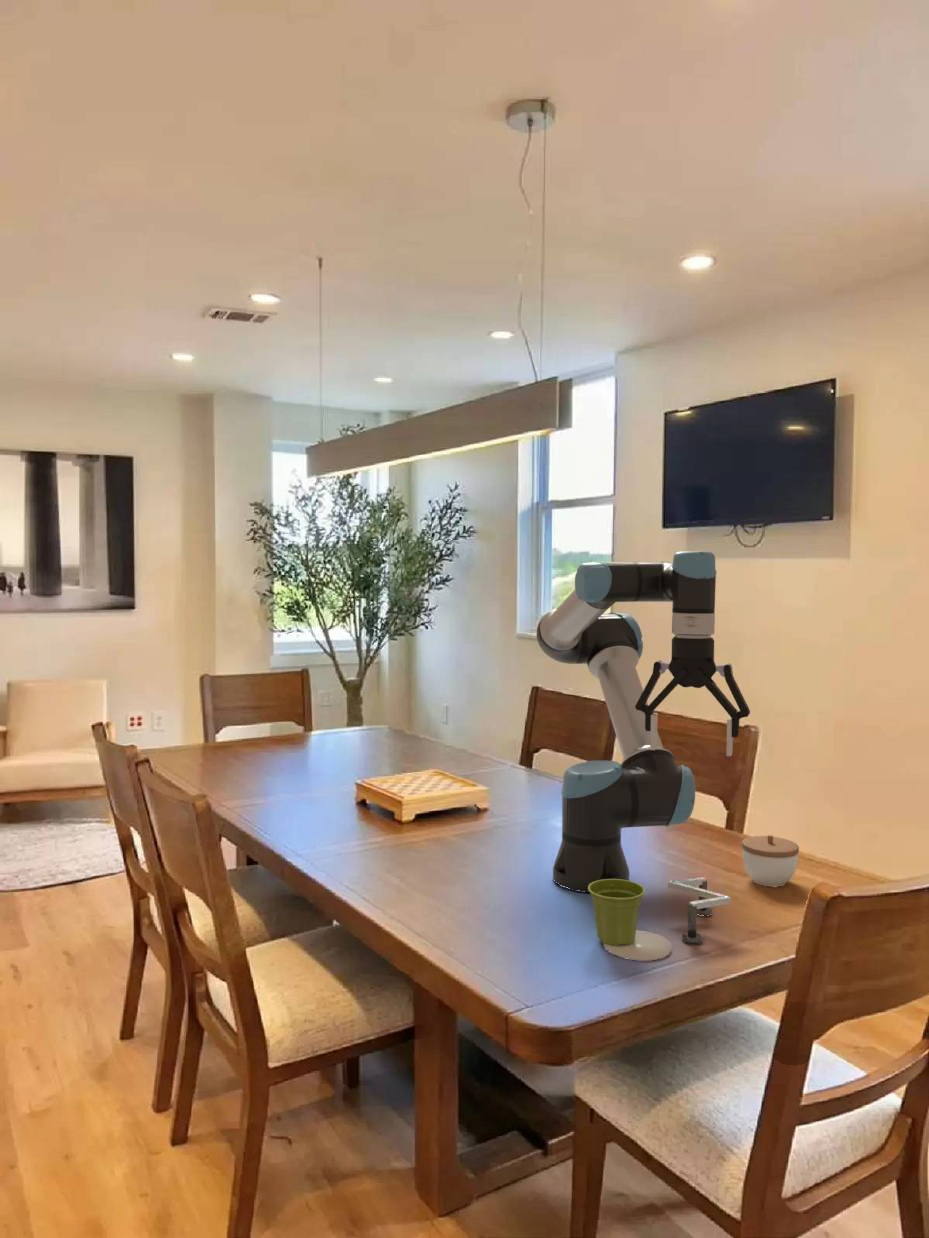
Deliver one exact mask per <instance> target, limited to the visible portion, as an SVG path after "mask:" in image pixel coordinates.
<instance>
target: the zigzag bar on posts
mask: <svg viewBox="0 0 929 1238" xmlns="http://www.w3.org/2000/svg"><path fill="white" fill-rule="evenodd" d="M667 882H668V883H667V885H668V887H667V888H669V889H674V890H677V891H679V892H684V893H687V894H691V895H695V896H698V900H693V901H689V902H688V905H687V906H688V907H687V908H688V910H687V932H684V933H683V934H682V936H681V937H682V938H681V940H683V941H684V942H686V943H685V944H687V943H689V944H688V945H691V944H698V945H700V944H699V943H701V942H702V943H703V936H702V935H701V934H700V933H698V931H697V929H698V928H697V927H698V925H697V923H698V921H697V920H698V916H697V914H699V915H704V916H707V915H710V914H712V915H713V909H712V908H711V907H717V906H724V905H728V904H731V902H732V900H731V899H732V898H731V896H728V895H726V894H722V893H718V892H714V891H712V890H711V891H710V890H708V880H707V878H706V877H703V876H700V877H692V878H691V877H690V878H683V879H682V878H681V879H674V880H673V879H672V880H671V879H670V880H668V881H667ZM697 886H698V887H697ZM683 941H682V942H683ZM684 942H683V943H684ZM702 943H701V944H702Z"/></svg>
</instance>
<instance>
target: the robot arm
mask: <svg viewBox="0 0 929 1238" xmlns="http://www.w3.org/2000/svg"><path fill="white" fill-rule="evenodd" d="M574 576H575V577H574V590H573V591H572V592H571V593H570V594H569V595H568V596H567V597H566V598H565V599H564V600H563V602H562V603H560V605H559V606H558V607H557V608H553V609H550V610H549V611H547V612H546V613H545V614H544V615H543V617H541V619H540V620H539V623H538V624H537V627H536V640H537V643H538V646H539V648H540V649H541V650H542V652H543V653H544V654H545V655H547V656H548V657H550V658H549V659H552V660H554V661H556V662H559V663H563V664H568V665H573V664H574V665H575V664H576V665H580V664H581V665H587V668H588V670H589V673H590V674H591V676H592V677H594V678H596V679H598V680H599V683H600V684H599V685H600V688H601V691H602V694H603V697H604V700H605V703H606V707H607V710H608V713H609V717H610V720H611V724H612V726H613V730H614V733H615V737H616V739H617V743H618V746H619V750H620V753H621V757H622V762H621V763H619V762H618V761H614V760H599V759H598V760H589V761H584V762H583V761H582V762H579V763H576V764H574V765H571V766H570V767H569V768H567V769H566V770H565V771H564V773H563V777H562V788H561V792H560V793H561V797H562V799H561V800H562V803H561V808H562V809H561V810H562V811H561V813H562V814H561V843H560V846H559V848H558V852H557V854H556V859H555V861H554V864H553V867H552V880H553V879H554V880H555V882H557V883H559V884H560V885H562V886H565V887H568V888H570V889H573V890H580V891H585V892H589V891H588V886H589V884H590V883H592V882H594V881H598V880H603V879H621V880H628V881H630V869H629V865H628V861H627V859H626V856H625V853H624V849H623V847H622V842H621V841H622V829H624V828H642V827H645V828H646V827H662V826H665V827H669V826H673V825H680V824H681V825H682V824H685V823H686V822H687V821H688V820H689V819H690V817H691V815H692V814H693V812H694V807H695V800H696V782H695V777H694V774H693V771H692V770H691V768H689V767H688V766H687V765H684V764H679V765H678V763H677V760H676V759H675V756H674V754H673V752H671V750H669V749H666V748H664V746H663V743H662V740H661V738H660V735H659V732H658V722H659V721H658V720H659V719H658V718H659V716H658V715H659V714H658V712H654V711H655V710H656V709H657V708H658V706H660V705H661V703H663V701H664V700H665V699H666V698H667V697H668V696H669V694H671V692H673V691H674V689H675V688H676V687H678V686H681V687H682V688H695V689H701V688H703V687H705V688H706V689H707V690H708V691H709V693H710V694H711V695H712V696H713V697H714V698H715V700H716V701H717V702H718V703H719V705H721V707H722V708H723V709H724V710H725V712H726V713H727V715H728V716H729V717H728V718H727V720H726V753H725V754H726V755H725V756H726V757H732V755H733V747H734V746H733V743H734V740H733V739H734V738H738V737H739V734H740V719H742V718H747V717H749V715H750V714H751V709H750V707H749V706H748V704H747V702H746V699H745V698H744V695H743V693H742V692H741V689H740V687H739V686H738V683H737V681H736V679H735V677H734V675H733V673H734V672H733V666H732V664H731V663H729V662H727V663H726V664H721V665H720V664H719V665H717V664H716V662H715V639H714V638H713V637H712V636H713V635H714V634H715V626H716V625H715V624H716V613H715V612H716V611H715V609H716V608H715V607H716V583H717V582H716V581H717V569H716V555H715V553H713V552H711V551H700V550H699V551H697V550H695V551H691V550H690V551H677V552H675V553H674V555H673V558H672V562H671V561H658V562H650V561H649V562H648V561H646V562H643V561H642V562H641V561H640V562H638V561H636V562H632V561H631V562H629V561H628V562H627V561H626V562H624V561H623V562H621V561H618V562H617V561H598V560H597V561H594V562H593V561H591V562H590V561H589V562H583V563H581V564H580V565H578V568H577V569H576V573H575V575H574ZM621 602H622V603H627V602H628V603H633V602H634V603H635V602H638V603H639V602H641V603H643V602H644V603H645V602H651V603H652V602H653V603H654V602H657V603H658V602H662V603H663V602H664V603H665V602H671V603H672V608H671V609H672V611H671V612H672V613H671V614H672V615H671V616H672V617H671V618H672V619H671V634H673V635H674V636H673V637H672V638H671V660H670V662H663V661H662V660H657V661H655V662H654V663H653V666H652V674H651V676H650V678H649V680H648V681H647V683H646V685H645V687H644V688H643V685H642V682H641V679H640V676H639V673H638V670H637V669H636V667H637V665H638V664H639V661H640V659H641V656H642V653H643V650H644V642H643V640H642V638H643V634H642V631H641V627H640V625H639V623H638V622H637V620H636V619H635V618H634V617H633V616H632V615H630V614H627V613H618V612H609V613H605V612H607V611H608V610H609V609H610V608H611V607H613V605H615V603H621ZM667 670H668V671H669V672H670V674H671V675H672V679H671V680H670V682H669V683H668V684H667V685H666V686H665V687H664V688H663V689H662V690H661V692H660V693H658V695H657V696H656V697H655V698H654V699H653V700H652V701H651V702H650V703H649V702H648V699H649V698H650V696H651V694H652V692H653V690H654V689H655V686H656V685H657V683H658V681H659V679H660V678H661V675H663V674H664V673H665V672H666V671H667ZM716 672H718V673H719V675H720V676H721V678H722V677H723V678H724V679H725V683H726V684H727V687H728V689H729V690H730V693H731V695H732V697H733V700H734V701H735V703H736V705H737V707H738V709H737V708H736V707H735V706H734V704H732V702H731V701H730V700H729V699H728V697H727V696H726V695H725V694H724V692H723V691H722V690H721V689H720V688H719V687H718V685H717V684H716V682H715V681H714V679H712V678H713V676H714V675H715V674H716ZM554 880H553V881H554ZM555 882H554V883H555ZM573 890H572V891H573ZM585 892H584V893H585Z"/></svg>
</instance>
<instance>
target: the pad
mask: <svg viewBox="0 0 929 1238" xmlns="http://www.w3.org/2000/svg"><path fill="white" fill-rule="evenodd" d="M602 943H603V942H602ZM603 944H604V945H603V948H604V947H605V948H606V949H607V950H608V951H610V952H611V953H612V954H614V955H617V956H619V957H621V958H620V959H622V958H628V959H630V960H629V961H632V960H637V961H636V962H653V961H652V960H656V961H658V960H657V959H660V960H662V959H661V958H663V959H665V958H667V957H668V956H670V954H671V953H672V943H671V942H670V941H669V940H668V939H667V938H666V937H664V936H662V935H660V934H657V933H655V932H650V931H647V930H646V931H645V930H640V929H639V930H638V929H636V934H635V940H634V942H632V943H631V944H628V945H625V944H619V945H609V944H606V943H603ZM605 948H604V949H605ZM670 952H671V953H670ZM612 954H611V955H612ZM614 955H613V956H614ZM666 956H667V957H666ZM619 957H618V958H619Z"/></svg>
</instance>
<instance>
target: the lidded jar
mask: <svg viewBox="0 0 929 1238" xmlns="http://www.w3.org/2000/svg"><path fill="white" fill-rule="evenodd" d="M741 847H742V853H741V855H742V862H743V866H744V869H745V871H746V874H748V877H750V878H751V879H752V880H754V881H755V882H756V883H759V884H761V885H764V886H763V887H766V886H782V887H784V886H785V885H786V884H785V883H788V882H789V881H790V880H791V879H792V878H793V876H795V873H796V871H797V868H798V863H799V862H798V861H799V851H800V850H799V849H800V847H799V845H798V844H797V843H795V842H794V841H792V840H789V839H787V838H783V837H777V836H774V835H772V834H768V835H757V836H756V835H755V836H749V837H746V838H744V839H742V841H741ZM754 881H753V882H754ZM755 882H754V883H755ZM756 883H755V884H756ZM784 884H785V885H784ZM761 885H760V886H761ZM783 885H784V886H783Z"/></svg>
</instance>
